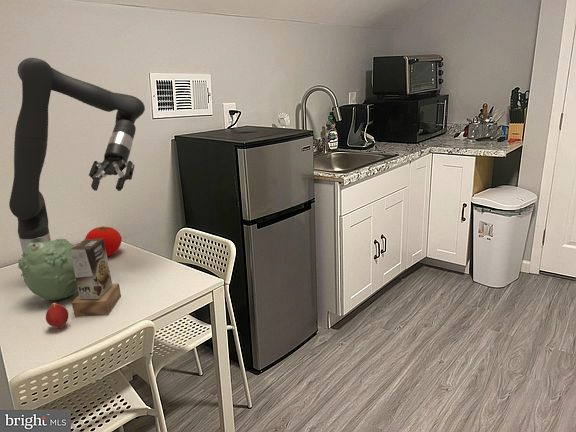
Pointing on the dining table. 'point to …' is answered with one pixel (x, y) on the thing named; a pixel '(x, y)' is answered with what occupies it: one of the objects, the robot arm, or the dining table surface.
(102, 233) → the tomato
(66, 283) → the cabbage
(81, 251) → the coffee box
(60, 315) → the onion
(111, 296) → the walnut box
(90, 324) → the dining table surface
